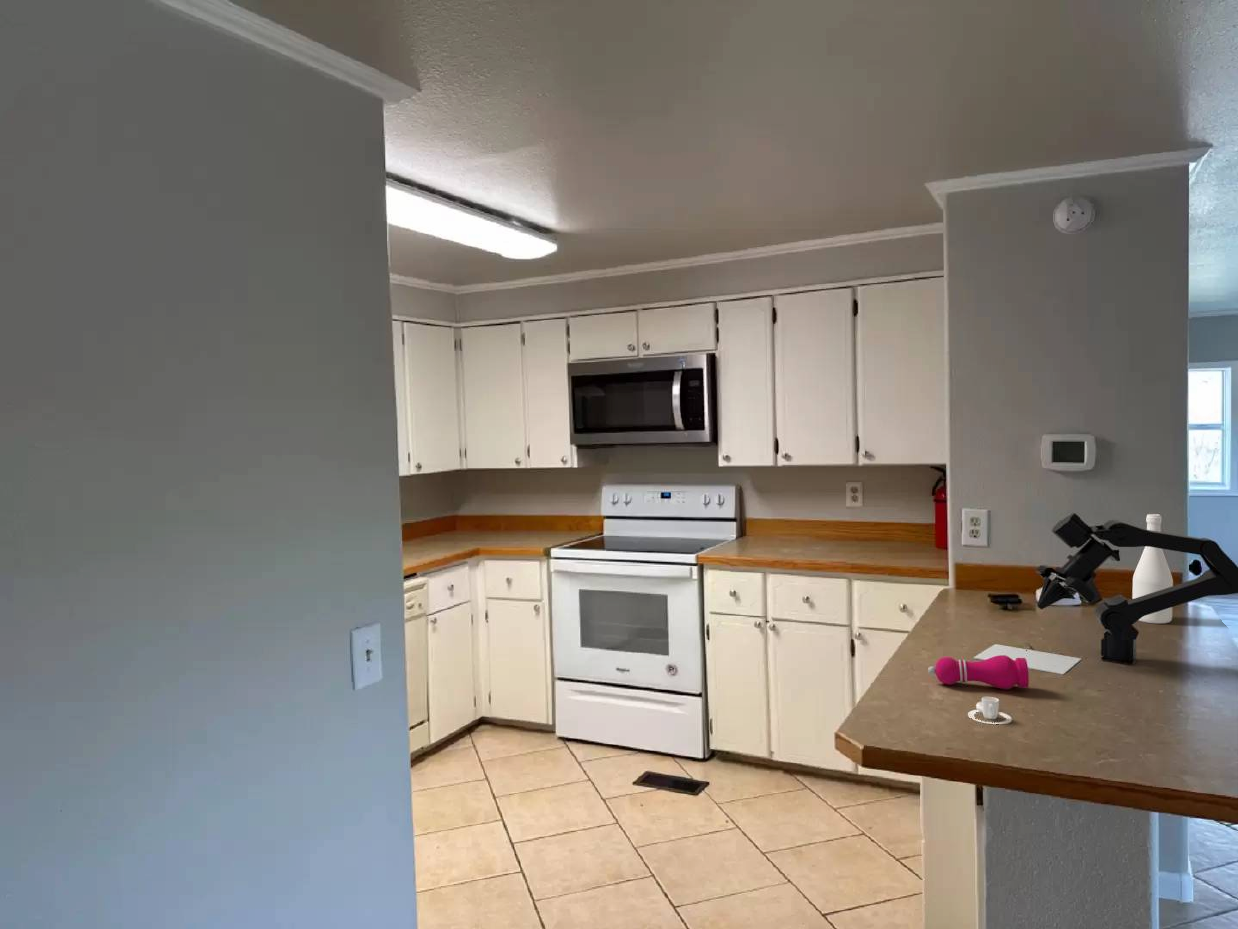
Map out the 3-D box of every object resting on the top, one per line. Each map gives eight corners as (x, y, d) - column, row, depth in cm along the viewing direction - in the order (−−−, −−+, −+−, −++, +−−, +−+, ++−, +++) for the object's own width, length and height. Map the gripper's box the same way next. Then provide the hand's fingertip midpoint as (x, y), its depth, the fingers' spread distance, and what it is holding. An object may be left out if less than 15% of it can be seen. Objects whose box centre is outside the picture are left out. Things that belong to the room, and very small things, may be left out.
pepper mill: (1029, 667, 176) (928, 665, 182) (1029, 696, 178) (929, 693, 184) (1023, 649, 182) (926, 647, 188) (1023, 677, 184) (927, 675, 191)
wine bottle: (1124, 618, 238) (1126, 514, 236) (1145, 614, 242) (1147, 511, 240) (1158, 626, 229) (1160, 517, 227) (1179, 621, 233) (1182, 515, 231)
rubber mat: (1081, 659, 201) (1081, 658, 201) (1063, 674, 190) (1063, 673, 190) (995, 644, 215) (995, 644, 214) (973, 658, 204) (973, 657, 204)
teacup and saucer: (976, 708, 172) (976, 688, 171) (1017, 716, 166) (1018, 696, 166) (962, 720, 165) (962, 700, 165) (1005, 730, 160) (1005, 709, 159)
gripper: (1132, 593, 191) (1082, 641, 192) (1090, 576, 209) (1045, 621, 211) (1097, 559, 191) (1047, 608, 192) (1058, 546, 209) (1013, 590, 211)
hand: (1039, 607), depth 201 cm, fingers closed
